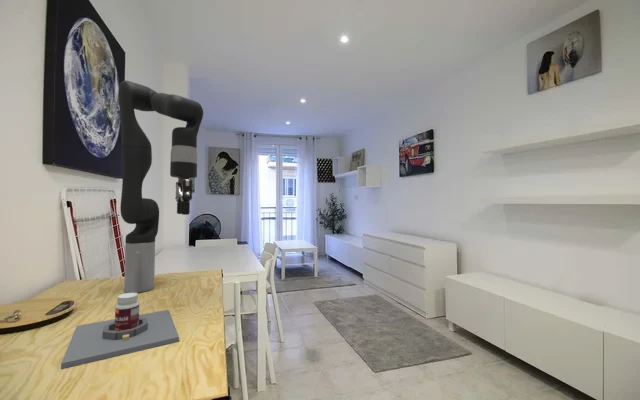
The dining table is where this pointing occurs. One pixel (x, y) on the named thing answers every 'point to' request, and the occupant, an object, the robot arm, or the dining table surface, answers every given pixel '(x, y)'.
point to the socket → (118, 338)
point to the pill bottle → (127, 312)
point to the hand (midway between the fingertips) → (182, 214)
